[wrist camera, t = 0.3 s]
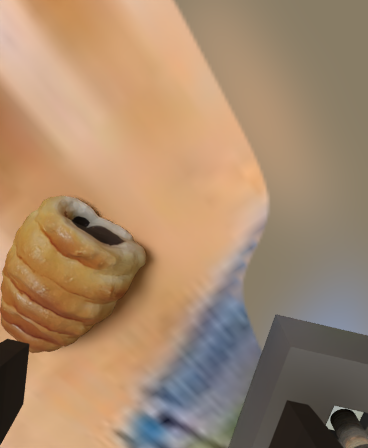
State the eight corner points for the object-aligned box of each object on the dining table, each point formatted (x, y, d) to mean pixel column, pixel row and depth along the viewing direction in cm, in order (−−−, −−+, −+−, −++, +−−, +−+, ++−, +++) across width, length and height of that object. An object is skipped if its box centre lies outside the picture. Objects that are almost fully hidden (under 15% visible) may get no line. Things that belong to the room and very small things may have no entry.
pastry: (81, 354, 20) (55, 401, 16) (-10, 301, 19) (-60, 338, 15) (157, 243, 18) (146, 268, 14) (56, 179, 17) (17, 188, 13)
